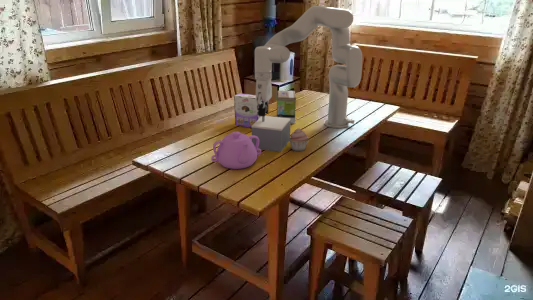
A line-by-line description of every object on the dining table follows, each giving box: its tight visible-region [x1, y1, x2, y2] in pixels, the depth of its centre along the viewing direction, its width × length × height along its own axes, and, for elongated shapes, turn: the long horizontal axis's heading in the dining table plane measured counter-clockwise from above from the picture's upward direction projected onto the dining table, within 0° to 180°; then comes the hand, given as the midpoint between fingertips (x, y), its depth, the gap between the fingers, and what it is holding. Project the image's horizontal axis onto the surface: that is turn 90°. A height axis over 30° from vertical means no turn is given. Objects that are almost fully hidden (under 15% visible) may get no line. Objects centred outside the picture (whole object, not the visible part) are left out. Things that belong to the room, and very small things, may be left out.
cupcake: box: [288, 127, 310, 152], centre depth 188 cm, size 9×9×10 cm
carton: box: [251, 120, 291, 153], centre depth 194 cm, size 14×16×10 cm
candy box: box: [233, 92, 262, 129], centre depth 216 cm, size 14×6×16 cm, turn 65°
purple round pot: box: [210, 130, 262, 170], centre depth 171 cm, size 22×22×14 cm
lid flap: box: [251, 105, 291, 131], centre depth 190 cm, size 14×16×9 cm
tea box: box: [276, 90, 297, 125], centre depth 226 cm, size 15×10×15 cm
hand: (263, 114), depth 191 cm, fingers closed on lid flap, 4 cm apart
